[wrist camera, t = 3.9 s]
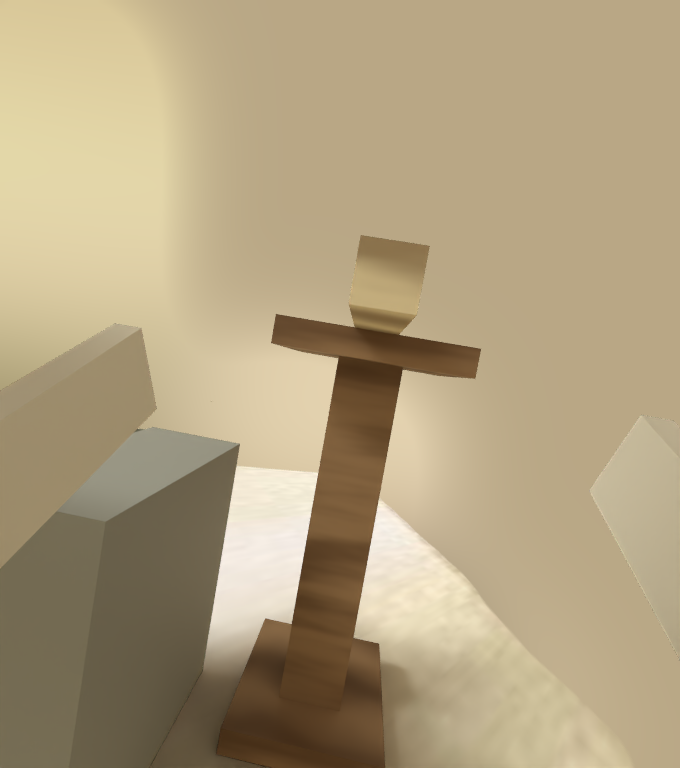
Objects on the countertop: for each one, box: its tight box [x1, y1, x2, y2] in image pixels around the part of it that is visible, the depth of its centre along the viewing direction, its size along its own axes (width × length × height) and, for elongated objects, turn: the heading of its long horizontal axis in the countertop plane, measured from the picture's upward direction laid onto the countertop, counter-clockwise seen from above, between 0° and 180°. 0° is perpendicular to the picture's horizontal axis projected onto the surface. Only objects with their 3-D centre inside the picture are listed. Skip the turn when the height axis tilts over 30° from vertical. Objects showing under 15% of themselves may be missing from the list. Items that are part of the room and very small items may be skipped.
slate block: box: [0, 427, 240, 768], centre depth 25 cm, size 17×8×21 cm, turn 176°
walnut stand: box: [216, 314, 481, 768], centre depth 32 cm, size 12×14×32 cm
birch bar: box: [349, 235, 430, 335], centre depth 28 cm, size 24×3×3 cm, turn 176°
